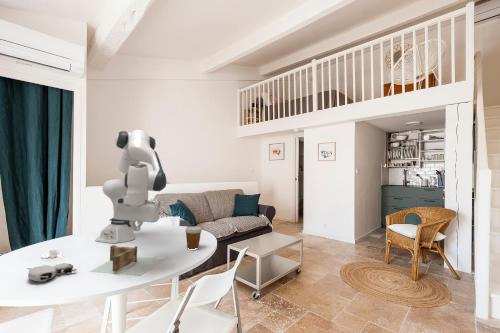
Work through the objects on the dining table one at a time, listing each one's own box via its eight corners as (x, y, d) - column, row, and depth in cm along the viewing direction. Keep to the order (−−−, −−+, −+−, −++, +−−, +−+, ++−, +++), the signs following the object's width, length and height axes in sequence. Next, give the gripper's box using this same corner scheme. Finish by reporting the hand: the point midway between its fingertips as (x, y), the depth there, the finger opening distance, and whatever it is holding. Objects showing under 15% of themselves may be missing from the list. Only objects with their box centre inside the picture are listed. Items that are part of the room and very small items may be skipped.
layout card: (89, 272, 107) (89, 271, 107) (118, 256, 127) (118, 255, 127) (140, 276, 104) (140, 275, 104) (162, 259, 124) (162, 258, 124)
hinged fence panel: (132, 260, 118) (132, 247, 119) (135, 260, 118) (136, 248, 118) (112, 271, 106) (113, 257, 106) (116, 271, 105) (116, 257, 106)
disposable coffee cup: (187, 245, 148) (187, 225, 148) (202, 246, 147) (203, 226, 148) (182, 250, 138) (183, 229, 138) (199, 251, 138) (199, 230, 138)
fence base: (109, 260, 120) (110, 245, 120) (112, 259, 122) (112, 244, 122) (135, 262, 118) (135, 247, 118) (137, 261, 120) (138, 246, 120)
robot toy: (67, 269, 112) (23, 278, 100) (68, 259, 112) (25, 267, 100) (77, 276, 105) (32, 287, 92) (79, 266, 105) (34, 275, 93)
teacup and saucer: (37, 259, 120) (38, 251, 121) (55, 254, 128) (55, 246, 128) (49, 262, 117) (49, 254, 118) (66, 257, 125) (66, 249, 125)
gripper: (162, 200, 109) (161, 231, 109) (122, 197, 113) (121, 227, 113) (154, 202, 103) (152, 234, 103) (112, 199, 107) (111, 230, 107)
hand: (136, 230), depth 108 cm, fingers closed
